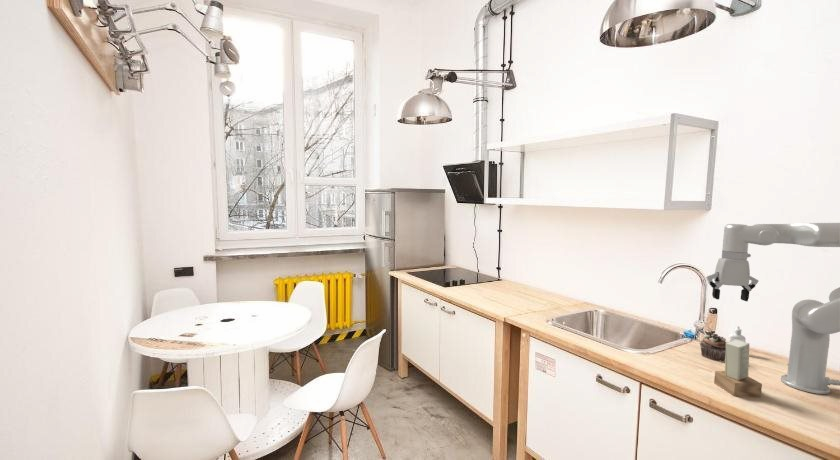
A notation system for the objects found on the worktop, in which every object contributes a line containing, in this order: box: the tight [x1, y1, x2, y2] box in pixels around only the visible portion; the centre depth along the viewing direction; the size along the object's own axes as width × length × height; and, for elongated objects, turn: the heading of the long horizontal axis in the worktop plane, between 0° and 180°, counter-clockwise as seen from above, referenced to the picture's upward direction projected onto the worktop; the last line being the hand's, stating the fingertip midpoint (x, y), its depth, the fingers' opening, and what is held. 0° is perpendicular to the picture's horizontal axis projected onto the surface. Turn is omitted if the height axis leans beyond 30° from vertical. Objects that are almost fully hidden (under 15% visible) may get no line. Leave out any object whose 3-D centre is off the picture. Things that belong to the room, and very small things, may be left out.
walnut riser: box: [713, 370, 763, 398], centre depth 133 cm, size 9×9×5 cm
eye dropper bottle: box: [727, 325, 747, 342], centre depth 167 cm, size 4×6×12 cm
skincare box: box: [724, 339, 750, 380], centre depth 133 cm, size 6×4×12 cm
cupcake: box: [699, 333, 727, 362], centre depth 161 cm, size 10×10×10 cm
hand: (729, 299), depth 147 cm, fingers open, 9 cm apart
